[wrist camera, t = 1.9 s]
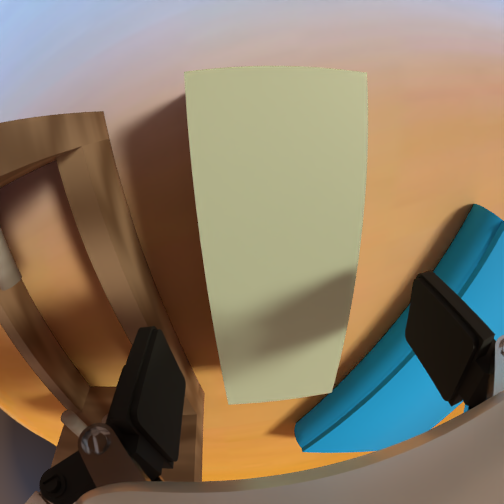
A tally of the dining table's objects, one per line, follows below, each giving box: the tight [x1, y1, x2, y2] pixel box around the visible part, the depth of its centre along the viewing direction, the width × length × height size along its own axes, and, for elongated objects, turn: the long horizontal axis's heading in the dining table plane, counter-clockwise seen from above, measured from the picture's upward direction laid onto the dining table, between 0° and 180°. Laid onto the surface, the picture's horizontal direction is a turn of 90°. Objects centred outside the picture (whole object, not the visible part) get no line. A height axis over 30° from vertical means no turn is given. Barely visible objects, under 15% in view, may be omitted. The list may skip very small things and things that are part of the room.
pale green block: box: [184, 66, 368, 405], centre depth 14 cm, size 16×6×5 cm, turn 3°
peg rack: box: [0, 111, 204, 482], centre depth 11 cm, size 21×12×12 cm, turn 10°
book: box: [294, 204, 504, 453], centre depth 21 cm, size 17×4×25 cm
